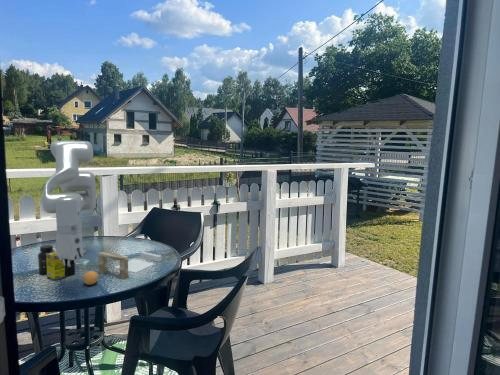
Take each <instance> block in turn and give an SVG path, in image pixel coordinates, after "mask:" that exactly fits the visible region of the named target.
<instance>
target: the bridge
mask: <svg viewBox="0 0 500 375" xmlns="http://www.w3.org/2000/svg"><path fill="white" fill-rule="evenodd" d="M97 257H98V273H99V274H104V273H107V272H108V259H112V260H116V261H119V262H118V263H119V264H118V265H119V266H120V269H119V279H121V280H124V279H126V278H129V271H128V261H129V256H128V255H122V254H120V253H115V252H109V251H106V250H103V251H100V252H98V256H97Z"/></svg>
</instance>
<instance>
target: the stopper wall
mask: <svg viewBox="0 0 500 375" xmlns="http://www.w3.org/2000/svg"><path fill="white" fill-rule="evenodd" d="M139 254H140V257H139V258H140V259H144V260H150V261H153V262H154V261H155V262H159V263H160V262H162V260H163V259H162V258H163V257H162V256H163V255H160V254H156V253H155V254H154V253H152V252H151V253H150V252H146V251H141V252H140V253H139Z"/></svg>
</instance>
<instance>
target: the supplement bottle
mask: <svg viewBox="0 0 500 375" xmlns="http://www.w3.org/2000/svg"><path fill="white" fill-rule="evenodd" d="M53 247H54V246H53V245H52V244H45V245H41V246H40V247H39V253H38V254H37V263H38V274H39V275H40V276H47V262H46V253H51V252H54V251H52V250H53Z"/></svg>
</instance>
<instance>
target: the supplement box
mask: <svg viewBox="0 0 500 375" xmlns="http://www.w3.org/2000/svg"><path fill="white" fill-rule="evenodd" d="M46 262H47V275H46V278H47V279H49V280H52V281H54V282H57V281H58V280H62V279H65V278H67V277H66V276H65V266H64V265H63V261H62V260H60V259H59V257H58V256H57V254H56V251H55V252H51V253H46Z"/></svg>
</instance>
